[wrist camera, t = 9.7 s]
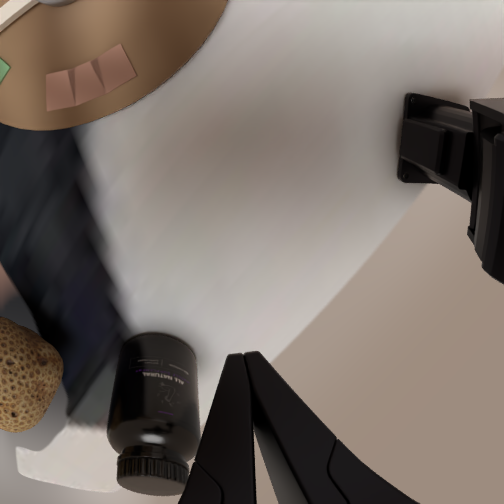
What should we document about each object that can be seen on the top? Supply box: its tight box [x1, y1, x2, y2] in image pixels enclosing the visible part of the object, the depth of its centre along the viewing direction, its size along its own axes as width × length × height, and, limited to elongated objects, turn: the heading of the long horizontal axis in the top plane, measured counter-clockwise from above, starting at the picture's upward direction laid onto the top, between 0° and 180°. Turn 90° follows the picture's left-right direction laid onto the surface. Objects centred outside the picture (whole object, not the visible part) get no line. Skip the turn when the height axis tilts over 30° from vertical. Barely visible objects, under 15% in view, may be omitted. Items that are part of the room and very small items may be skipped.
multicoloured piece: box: [0, 0, 75, 32], centre depth 8 cm, size 10×4×5 cm, turn 110°
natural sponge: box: [0, 317, 63, 432], centre depth 18 cm, size 9×9×10 cm
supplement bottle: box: [107, 334, 201, 496], centre depth 20 cm, size 7×7×12 cm
